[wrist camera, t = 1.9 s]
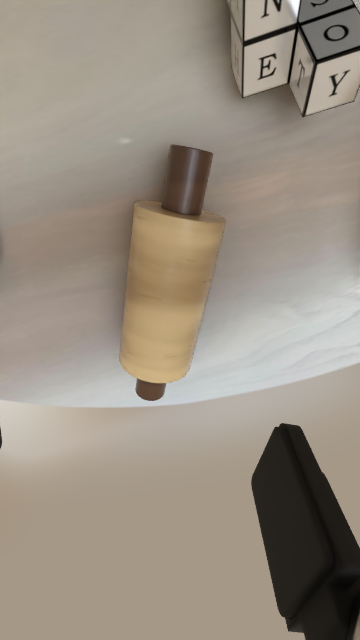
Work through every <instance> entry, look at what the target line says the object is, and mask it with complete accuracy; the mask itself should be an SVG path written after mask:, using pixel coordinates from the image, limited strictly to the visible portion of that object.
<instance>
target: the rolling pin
mask: <svg viewBox="0 0 360 640" xmlns="http://www.w3.org/2000/svg"><path fill="white" fill-rule="evenodd" d="M212 157H213V153H211V152H207V151H204V150H199V149H195V148H190V147H185V146H180V145H170V149H169V156H168V163H167V170H166V177H165V184H164V191H163V198H162V202H156V201H137V202H135V203H134V213H133V223H132V233H131V244H130V254H129V264H128V274H127V284H126V294H125V304H124V314H123V324H122V334H121V344H120V355H119V360H120V363H121V365H122V367H123V368H124V369H125V371H127V372H128V373H129V374H130V375H132V376H134V377H136V378H137V383H136V393H137V395H138V396H139V397H141V398H142V399H145V400H149V401H154V400H158V399H160V398H161V397H162V396H163V395H164V392H165V387H166V383H169V382H173V381H177V380H179V379H181V378H183V377H184V376H185V375H186V374H187V373H188V371H189V369H190V366H191V362H192V358H193V354H194V350H195V346H196V342H197V338H198V334H199V330H200V326H201V321H202V317H203V313H204V309H205V305H206V301H207V297H208V293H209V289H210V285H211V281H212V277H213V273H214V269H215V265H216V261H217V257H218V253H219V249H220V245H221V241H222V236H223V232H224V228H225V224H226V220H225V219H224V218H223V217H221V216H219V215H216V214H213V213H210V212H207V211H204V210H202V206H203V201H204V196H205V191H206V186H207V181H208V177H209V172H210V167H211V162H212Z"/></svg>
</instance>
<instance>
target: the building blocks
mask: <svg viewBox="0 0 360 640" xmlns="http://www.w3.org/2000/svg"><path fill="white" fill-rule="evenodd" d="M226 1H227V3H228V6H229V9H230V12H231V68H232V71H233V74H234V76H235V79H236V82H237V85H238V88H239V91H240V94H241V97H242V98H245V97H248V96H251V95H254V94H257V93H260V92H263V91H266V90H269V89H272V88H276V87H279V86H282V85H285V84H289V86H290V88H291V91H292V93H293V96H294V98H295V100H296V103H297V105H298V107H299V110H300V112H301V115H302V117H305V116H308V115H312V114H315V113H318V112H321V111H325V110H328V109H331V108H334V107H338V106H341V105H344V104H347V103H351V102H354V100H355V97H356V95H357V92H358V90H359V87H360V12H359V11H358V9H357V7H356V6H355V4H354V2H353V0H226Z"/></svg>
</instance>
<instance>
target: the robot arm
mask: <svg viewBox="0 0 360 640" xmlns="http://www.w3.org/2000/svg"><path fill="white" fill-rule="evenodd" d="M1 445H2V437H1V429H0V448H1ZM251 484H252V491H253V496H254V500H255V505H256V509H257V514H258V518H259V523H260V528H261V533H262V537H263V541H264V546H265V551H266V556H267V560H268V565H269V569H270V574H271V579H272V583H273V588H274V592H275V597H276V602H277V606H278V610H279V612H280V614H281V616H282V617H285V619H286V624H287V628H288V631H291V632H301V633H304V635H305V639H306V640H360V548H359V546H358V544H357V542H356V540H355V537H354V535H353V533H352V531H351V529H350V527H349V525H348V523H347V520H346V519H345V516H344V514H343V512H342V510H341V508H340V506H339V504H338V502H337V499H336V497H335V495H334V493H333V491H332V489H331V487H330V484H329V482H328V480H327V478H326V477H325V475H324V474H323V473H322V472H321V469H320V467H319V465H318V463H317V461H316V459H315V457H314V454H313V452H312V450H311V448H310V446H309V444H308V441H307V440H306V437H305V435H304V433H303V431H302V429H301V427H300V426H297V425H291V424H284V423H282V424H280V426H279V427H275V428H274V430H273V432H272V434H271V436H270V439H269V441H268V443H267V445H266V447H265V450H264V452H263V454H262V456H261V458H260V460H259V463H258V465H257V467H256V469H255V471H254V473H253V476H252V482H251Z"/></svg>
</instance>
